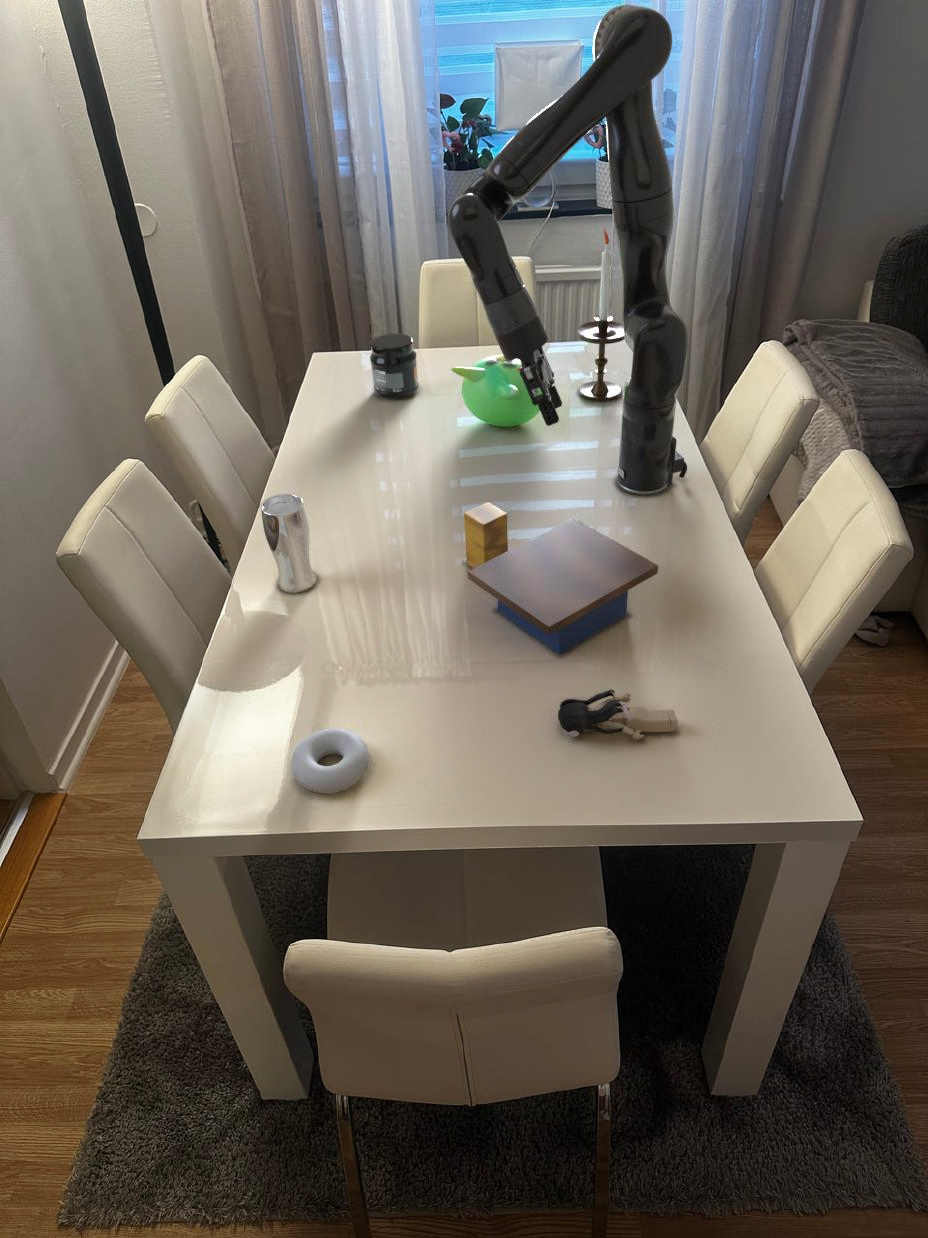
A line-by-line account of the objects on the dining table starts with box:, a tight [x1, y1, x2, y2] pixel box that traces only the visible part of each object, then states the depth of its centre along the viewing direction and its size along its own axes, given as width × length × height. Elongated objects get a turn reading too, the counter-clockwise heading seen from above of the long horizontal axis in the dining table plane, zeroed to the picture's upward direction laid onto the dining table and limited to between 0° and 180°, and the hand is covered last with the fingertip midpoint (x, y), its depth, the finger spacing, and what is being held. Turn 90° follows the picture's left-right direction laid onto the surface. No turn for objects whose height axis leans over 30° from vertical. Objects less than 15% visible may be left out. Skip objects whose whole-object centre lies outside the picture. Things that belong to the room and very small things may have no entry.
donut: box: [290, 728, 370, 794], centre depth 114 cm, size 10×4×10 cm
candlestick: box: [576, 228, 625, 403], centre depth 189 cm, size 11×11×35 cm
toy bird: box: [450, 353, 542, 427], centre depth 186 cm, size 18×17×15 cm
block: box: [463, 501, 509, 569], centre depth 146 cm, size 5×5×10 cm
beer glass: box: [260, 493, 316, 594], centre depth 143 cm, size 7×7×15 cm
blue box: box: [497, 590, 629, 655], centre depth 136 cm, size 14×14×7 cm
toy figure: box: [557, 687, 678, 740], centre depth 116 cm, size 7×6×15 cm
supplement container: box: [369, 333, 420, 400], centre depth 202 cm, size 10×10×12 cm
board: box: [467, 518, 659, 635], centre depth 133 cm, size 22×18×2 cm
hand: (555, 415), depth 147 cm, fingers open, 8 cm apart
